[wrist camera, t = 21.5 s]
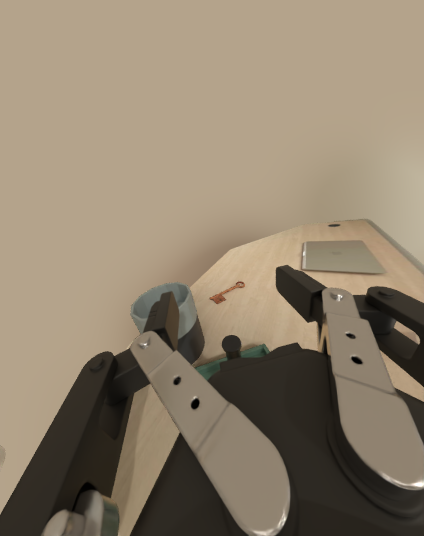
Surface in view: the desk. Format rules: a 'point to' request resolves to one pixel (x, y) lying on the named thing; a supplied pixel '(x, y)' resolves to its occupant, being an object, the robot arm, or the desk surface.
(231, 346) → the blade
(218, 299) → the key
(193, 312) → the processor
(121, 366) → the robot arm
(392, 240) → the desk surface
